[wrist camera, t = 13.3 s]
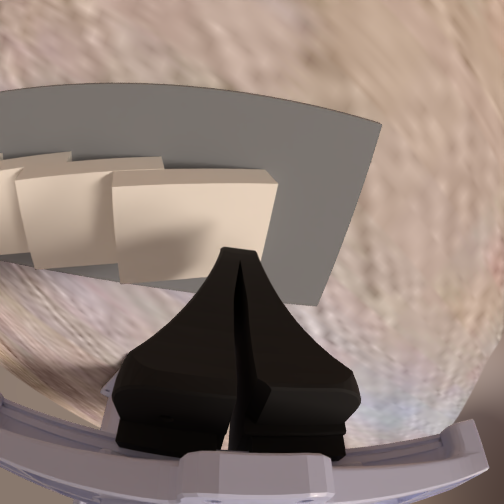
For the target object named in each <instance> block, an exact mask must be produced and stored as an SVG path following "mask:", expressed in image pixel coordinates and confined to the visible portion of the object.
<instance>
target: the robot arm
mask: <svg viewBox="0 0 504 504" xmlns="http://www.w3.org/2000/svg"><path fill="white" fill-rule="evenodd" d="M100 392H101V394H103V395H105V396H107V397H108V400H107V404H106V408H105V412H104V416H103V420H102V424H101V429H100V430H98V429H94V428H90V427H86V426H82V425H79V424H76V423H72V422H69V421H65V420H62V419H59V418H56V417H53V416H50V415H47V414H44V413H41V412H38V411H35V410H33V409H30V408H28V407H25V406H22V405H20V404H17V403H15V402H12V401H10V400H7V399H5V398H4V397H3V396H2V394H1V392H0V467H2V468H4V469H6V470H7V471H9V472H12V473H14V474H16V475H18V476H20V477H22V478H24V479H26V480H29V481H31V482H33V483H35V484H37V485H40V486H42V487H45V488H47V489H49V490H52V491H54V492H57V493H59V494H62V495H65V496H67V497H70V498H73V499H74V500H73V504H410V503H413V502H416V501H419V500H422V499H425V498H428V497H431V496H434V495H437V494H440V493H442V492H445V491H448V490H451V489H453V488H455V487H457V486H458V485H461V484H463V483H464V482H466V481H468V480H470V479H472V478H474V477H476V476H477V475H479V474H481V473H483V472H485V471H486V470H488V468H489V466H488V462H487V459H486V456H485V453H484V450H483V446H482V443H481V440H480V437H479V434H478V431H477V428H476V425H475V422H474V420H473V419H469V420H466V421H462V422H458V423H455V424H452V425H450V426H448V427H447V428H446V429H444V430H443V431H442V432H441V433H440V434H437V435H432V436H428V437H423V438H418V439H413V440H407V441H402V442H396V443H390V444H383V445H376V446H368V447H360V448H350V449H345V445H344V439H343V435H344V434H346V427H345V421H346V420H347V419H348V418H349V417H350V416H351V415H352V414H353V413H354V412H355V411H356V410H357V408H358V407H359V405H360V403H361V397H360V392H359V388H358V385H357V382H356V379H355V377H354V374H353V371H352V370H350V369H349V368H347V367H346V366H345V365H343V364H342V363H341V362H339V361H338V360H336V359H335V358H334V357H332V356H331V355H330V354H329V353H328V352H327V351H325V350H324V349H323V348H322V347H321V346H320V345H319V344H318V343H316V342H315V341H314V340H313V339H312V338H311V336H310V335H309V334H308V333H307V332H306V331H305V330H304V329H303V328H302V327H301V326H300V325H299V324H298V322H297V321H296V320H295V319H294V317H293V316H292V315H291V314H290V312H289V311H288V309H287V308H286V307H285V305H284V304H283V302H282V301H281V299H280V297H279V296H278V294H277V293H276V291H275V289H274V287H273V286H272V284H271V282H270V280H269V278H268V276H267V274H266V272H265V270H264V268H263V266H262V264H261V261H260V259H259V257H258V254H257V252H256V251H255V250H247V249H239V248H231V247H222V248H221V249H220V253H219V256H218V258H217V260H216V262H215V264H214V266H213V268H212V270H211V272H210V273H209V275H208V277H207V278H206V280H205V281H204V283H203V284H202V286H201V287H200V288H199V290H198V291H197V293H196V294H195V295H194V296H193V298H192V299H191V300H190V301H189V302H188V304H187V305H186V306H185V307H184V308H183V309H182V310H181V311H180V312H179V313H178V314H177V315H176V316H175V317H174V318H173V319H172V320H171V321H170V322H169V323H168V324H167V325H166V326H164V327H163V328H162V329H161V330H159V331H158V332H157V333H156V334H155V335H153V336H152V337H151V338H149V339H148V340H147V341H145V342H144V343H142V344H141V345H139V346H138V347H136V348H135V349H133V350H132V351H130V352H129V354H128V355H127V357H126V359H125V360H124V362H123V364H122V366H121V368H120V369H119V370H118V371H117V372H116V373H115V374H114V375H113V376H112V378H111V379H110V380H109V381H108V382H107V383H106V384H105V385H104V386H103V387H102V388H101V391H100ZM229 423H230V431H229V445H228V450H221V447H222V443H223V440H224V436H225V435H226V433H227V430H228V426H229Z"/></svg>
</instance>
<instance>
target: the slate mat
mask: <svg viewBox="0 0 504 504" xmlns="http://www.w3.org/2000/svg"><path fill="white" fill-rule="evenodd" d="M381 127H382V124H380V123H378V122H375V121H372V120H368V119H365V118H361V117H358V116H354V115H351V114H347V113H343V112H339V111H335V110H331V109H327V108H323V107H319V106H314V105H310V104H305V103H301V102H296V101H291V100H286V99H280V98H275V97H269V96H264V95H258V94H251V93H245V92H238V91H230V90H222V89H214V88H205V87H194V86H182V85H168V84H148V83H85V84H65V85H52V86H41V87H31V88H23V89H15V90H8V91H1V92H0V153H3V160H6V159H13V158H19V157H27V156H34V155H42V154H51V153H60V152H70V151H71V153H72V161H84V160H97V159H112V158H131V157H159V156H161V157H162V161H163V165H164V169H264V170H266V171H267V172H268V173H269V174H270V175H271V176H272V178H273V179H274V180H275V181H276V182H277V183H278V187H277V192H276V196H275V201H274V205H273V210H272V214H271V218H270V223H269V227H268V232H267V236H266V240H265V245H264V249H263V254H262V258H261V264H262V266H263V268H264V270H265V272H266V274H267V276H268V278H269V280H270V282H271V284H272V286H273V287H274V289H275V291H276V293H277V294H278V296H279V297H280V299H281V301H282V302H283V303H286V304H296V305H307V306H317V305H318V303H319V300H320V298H321V296H322V293H323V291H324V288H325V286H326V283H327V281H328V279H329V276H330V274H331V271H332V269H333V266H334V264H335V261H336V258H337V256H338V253H339V251H340V248H341V245H342V243H343V240H344V237H345V235H346V232H347V229H348V227H349V224H350V221H351V218H352V216H353V213H354V210H355V207H356V204H357V202H358V199H359V196H360V193H361V190H362V187H363V184H364V181H365V178H366V175H367V172H368V169H369V166H370V163H371V160H372V156H373V153H374V150H375V147H376V144H377V140H378V137H379V134H380V130H381ZM0 260H1V261H6V262H11V263H15V264H20V265H25V266H30V267H34V264H33V260H32V257H31V253H30V252H27V253H16V254H6V255H0ZM46 270H51V271H57V272H62V273H68V274H73V275H79V276H85V277H91V278H97V279H103V280H109V281H115V282H120V277H119V269H118V263H114V264H101V265H88V266H75V267H62V268H49V269H46ZM206 278H207V277H200V278H189V279H178V280H166V281H155V282H143V283H130V284H134V285H141V286H148V287H154V288H161V289H168V290H176V291H183V292H191V293H197V291H198V290H199V288H200V287H201V286H202V284H203V283H204V281H205V280H206Z"/></svg>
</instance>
